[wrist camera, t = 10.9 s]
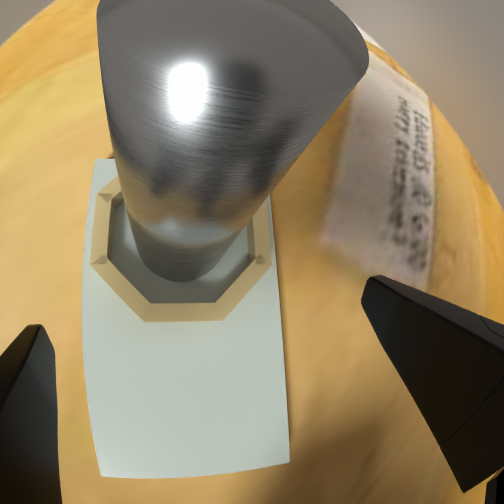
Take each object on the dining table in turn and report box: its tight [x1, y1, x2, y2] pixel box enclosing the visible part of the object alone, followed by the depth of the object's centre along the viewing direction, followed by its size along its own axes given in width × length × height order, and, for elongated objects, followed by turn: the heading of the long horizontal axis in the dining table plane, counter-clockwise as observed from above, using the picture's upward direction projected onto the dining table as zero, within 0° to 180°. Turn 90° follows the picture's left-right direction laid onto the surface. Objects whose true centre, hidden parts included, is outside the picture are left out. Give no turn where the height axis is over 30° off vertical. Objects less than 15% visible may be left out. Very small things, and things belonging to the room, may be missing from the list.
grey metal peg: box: [97, 0, 369, 282], centre depth 9 cm, size 5×5×12 cm
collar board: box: [82, 159, 290, 478], centre depth 14 cm, size 17×10×2 cm, turn 4°
